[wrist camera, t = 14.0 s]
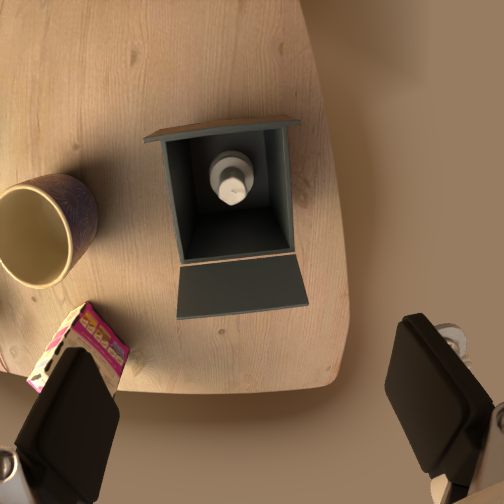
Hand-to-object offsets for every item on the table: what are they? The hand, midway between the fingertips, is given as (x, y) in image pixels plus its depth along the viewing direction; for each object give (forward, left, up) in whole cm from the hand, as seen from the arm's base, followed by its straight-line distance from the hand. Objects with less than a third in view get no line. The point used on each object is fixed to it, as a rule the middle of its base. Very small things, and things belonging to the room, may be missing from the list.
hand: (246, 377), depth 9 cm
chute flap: (0, +5, -15) cm, 16 cm away
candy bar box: (+24, +21, -33) cm, 46 cm away
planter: (+23, +1, -33) cm, 40 cm away
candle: (0, -1, -32) cm, 32 cm away
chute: (0, -1, -33) cm, 33 cm away
